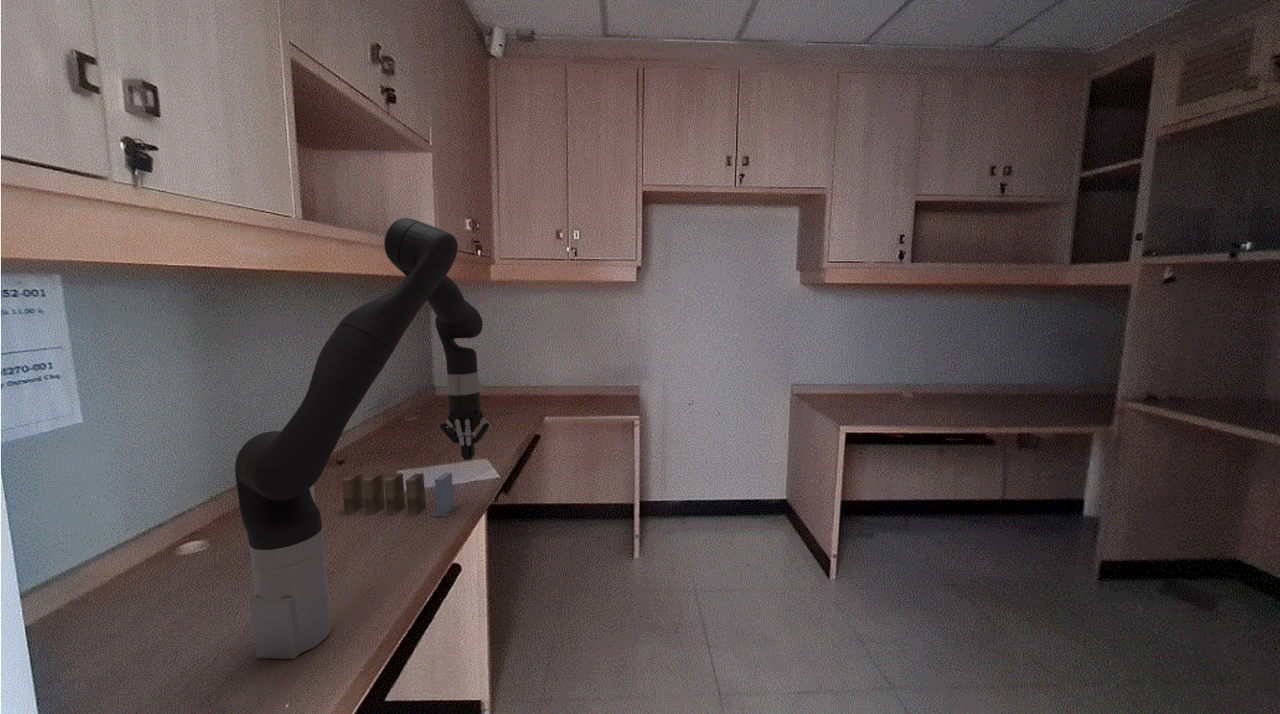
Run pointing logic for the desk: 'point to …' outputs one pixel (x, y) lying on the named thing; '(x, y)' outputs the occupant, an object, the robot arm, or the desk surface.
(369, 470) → the desk surface
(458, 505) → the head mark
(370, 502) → the tile
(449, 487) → the blue-grey rectangular block
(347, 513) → the tile
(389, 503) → the tile
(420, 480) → the tile
